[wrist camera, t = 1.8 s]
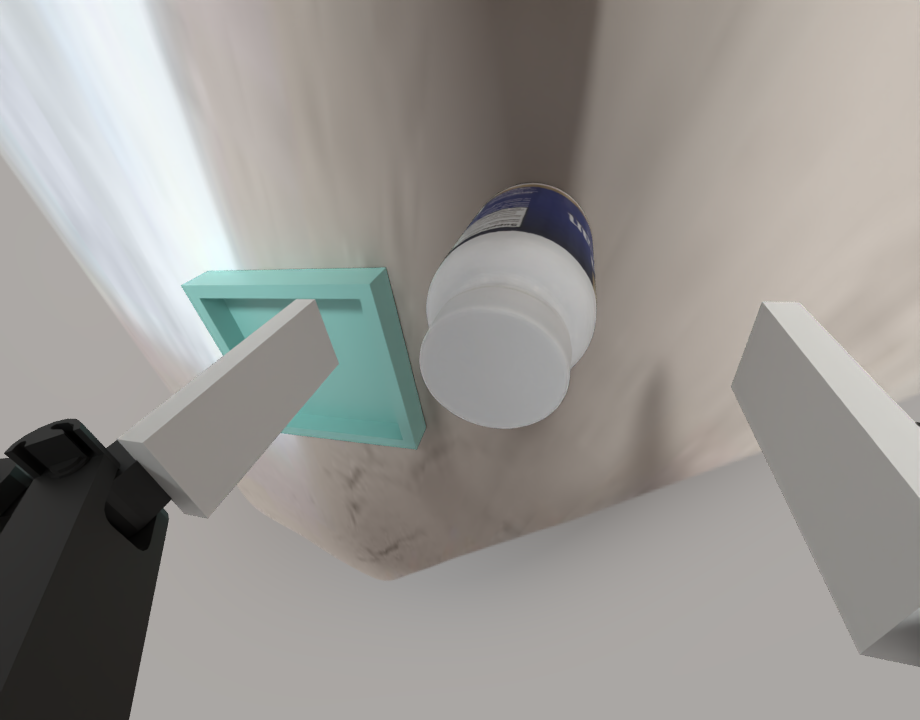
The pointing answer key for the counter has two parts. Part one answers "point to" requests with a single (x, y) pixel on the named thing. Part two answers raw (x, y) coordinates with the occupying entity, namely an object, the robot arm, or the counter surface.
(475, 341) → the pill bottle
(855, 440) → the robot arm
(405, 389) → the tray
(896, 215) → the counter surface
